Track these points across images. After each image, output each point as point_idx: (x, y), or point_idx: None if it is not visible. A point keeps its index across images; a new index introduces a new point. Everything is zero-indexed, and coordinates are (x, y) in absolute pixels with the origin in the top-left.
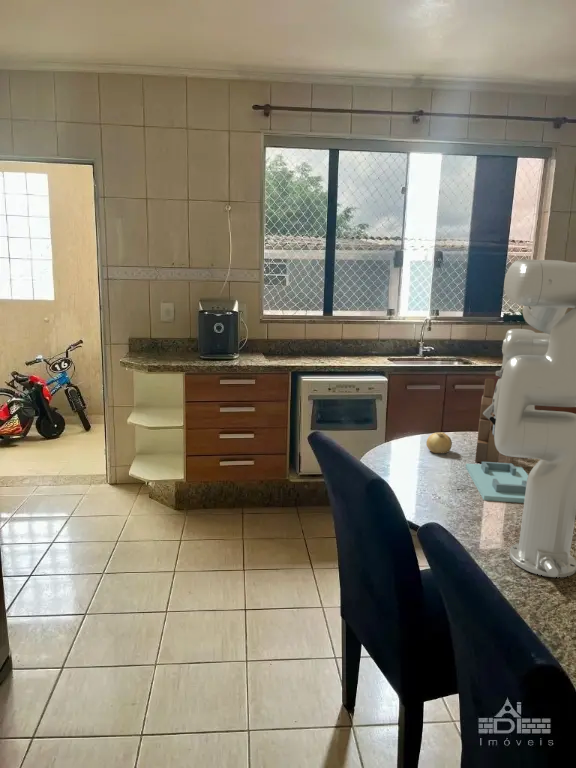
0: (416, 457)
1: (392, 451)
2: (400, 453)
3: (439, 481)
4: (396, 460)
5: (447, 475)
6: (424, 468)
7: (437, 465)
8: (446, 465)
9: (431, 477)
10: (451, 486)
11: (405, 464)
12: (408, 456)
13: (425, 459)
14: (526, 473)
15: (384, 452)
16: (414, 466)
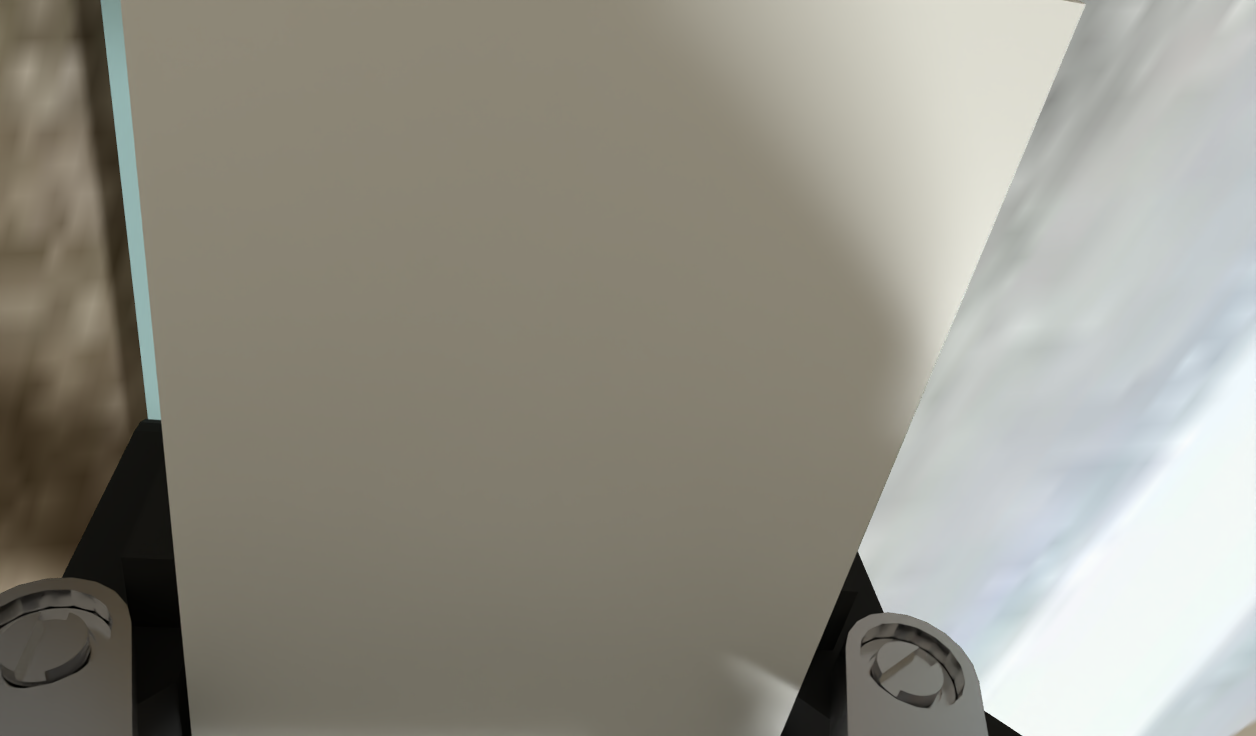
0: (1031, 642)
1: (1143, 719)
2: (1108, 694)
3: (1184, 146)
4: (1235, 576)
5: (1002, 303)
6: (1115, 444)
7: (955, 513)
8: (873, 519)
9: (1194, 245)
10: (1148, 6)
11: (1221, 510)
12: (1083, 653)
13: (982, 615)
14: (142, 321)
15: (1217, 698)
16: (1174, 477)
